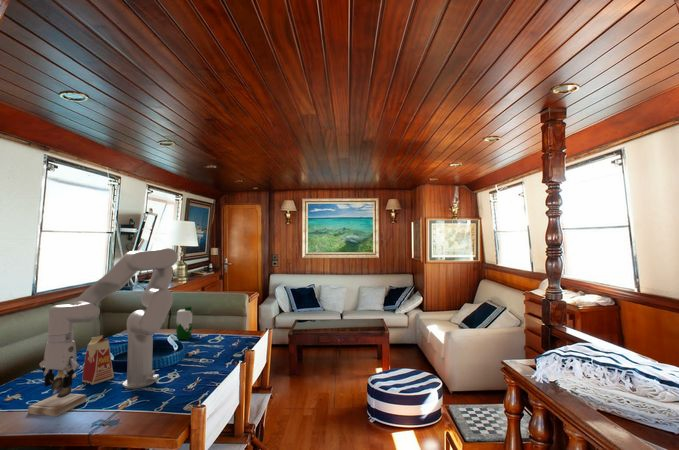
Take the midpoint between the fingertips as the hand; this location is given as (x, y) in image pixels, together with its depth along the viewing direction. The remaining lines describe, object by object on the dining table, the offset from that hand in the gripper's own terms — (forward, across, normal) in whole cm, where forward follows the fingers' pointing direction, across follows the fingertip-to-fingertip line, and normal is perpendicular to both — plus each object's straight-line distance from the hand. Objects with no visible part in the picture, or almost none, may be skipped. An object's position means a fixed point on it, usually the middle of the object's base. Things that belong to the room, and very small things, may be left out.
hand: (58, 385), depth 132 cm
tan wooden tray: (+8, 0, 0) cm, 8 cm away
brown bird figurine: (+3, -2, +1) cm, 3 cm away
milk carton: (+8, +8, -26) cm, 29 cm away
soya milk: (+7, +10, -95) cm, 96 cm away
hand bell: (+8, +24, -25) cm, 36 cm away
